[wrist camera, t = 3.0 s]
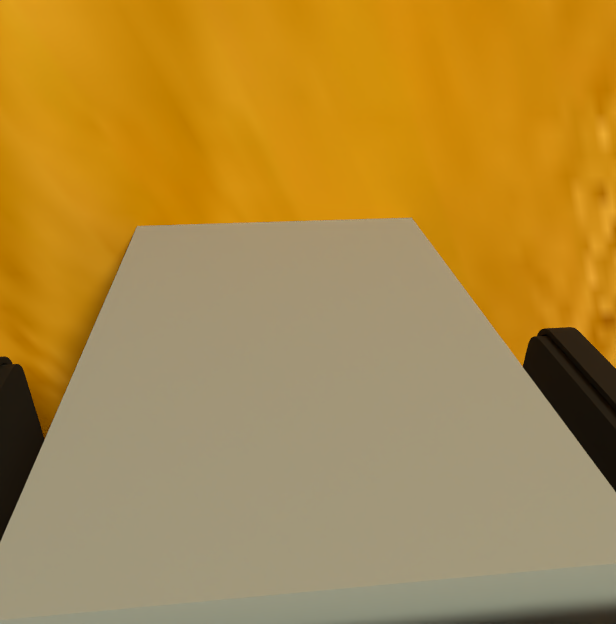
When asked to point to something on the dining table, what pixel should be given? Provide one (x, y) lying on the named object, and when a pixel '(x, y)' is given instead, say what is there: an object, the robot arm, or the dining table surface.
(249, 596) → the slate block
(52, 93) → the dining table surface
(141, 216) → the dining table surface
